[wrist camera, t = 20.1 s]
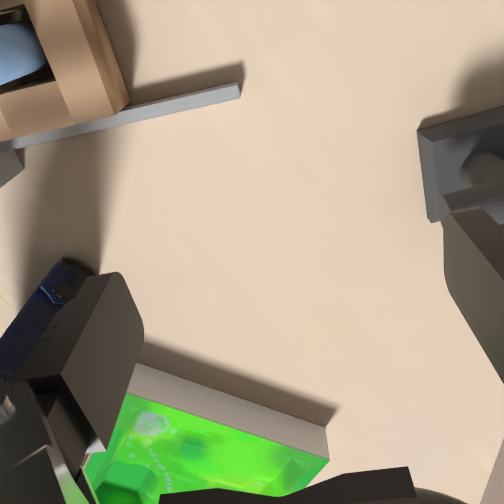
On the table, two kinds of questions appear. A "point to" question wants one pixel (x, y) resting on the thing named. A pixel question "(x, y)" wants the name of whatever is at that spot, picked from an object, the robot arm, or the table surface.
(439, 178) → the faucet
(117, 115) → the backstop
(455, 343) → the table surface
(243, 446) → the tray
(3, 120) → the socket block
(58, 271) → the book
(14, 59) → the dowel
